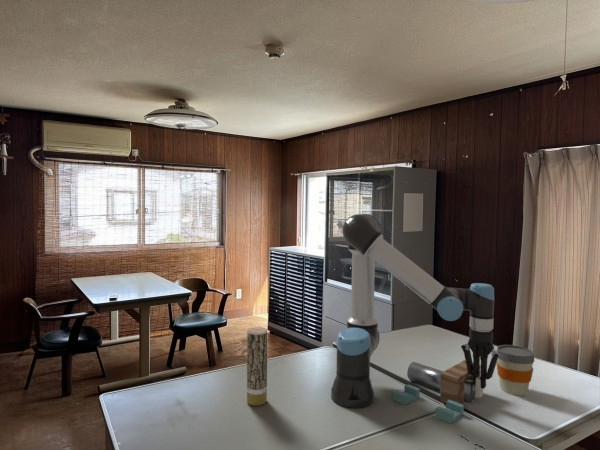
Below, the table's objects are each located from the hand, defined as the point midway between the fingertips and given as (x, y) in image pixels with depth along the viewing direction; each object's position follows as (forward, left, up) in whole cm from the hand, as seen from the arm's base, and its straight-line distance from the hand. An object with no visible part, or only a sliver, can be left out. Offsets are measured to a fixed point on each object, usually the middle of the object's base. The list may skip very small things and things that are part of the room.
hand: (479, 396), depth 141 cm
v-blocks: (-16, +11, -2) cm, 19 cm away
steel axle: (0, +14, -3) cm, 15 cm away
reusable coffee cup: (+20, -4, -3) cm, 21 cm away
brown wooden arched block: (0, +7, -2) cm, 7 cm away
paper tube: (-57, +52, -3) cm, 77 cm away
